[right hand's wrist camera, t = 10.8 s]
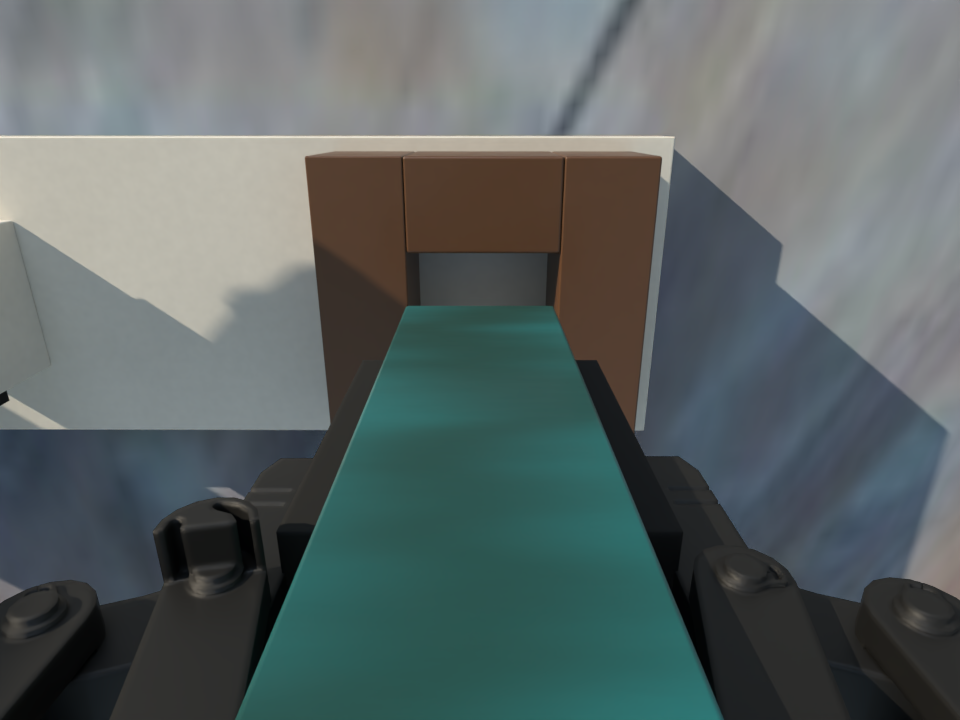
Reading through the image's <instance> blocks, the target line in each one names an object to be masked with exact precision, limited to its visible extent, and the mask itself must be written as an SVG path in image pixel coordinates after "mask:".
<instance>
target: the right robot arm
mask: <svg viewBox="0 0 960 720" xmlns="http://www.w3.org/2000/svg"><path fill="white" fill-rule="evenodd" d="M383 361H384V360H363V361H362V363H361V365H360V367H359V369H358V371H357V373H356V375H355V377H354V379H353V381H352V383H351V385H350V387H349V389H348V391H347V392H346V394H345V396H344V398H343V400H342V402H341V404H340V406H339V408H338V410H337V412H336V414H335V416H334V418H333V420H332V422H331V424H330V426H329V428H328V430H327V432H326V434H325V436H324V438H323V440H322V442H321V444H320V446H319V448H318V450H317V452H316V454H315V456H314V458H281V459H280V460H278V461H277V462H275V463H274V464H273V465H271V466H270V467H268V468H267V469H266V470H264V471H263V472H261V474H260V475H259V477H258V479H257V480H256V482H255V483H254V485H253V486H252V488H251V492H249V493H248V494H247V496H246V497H245V499H244V500H241V499H238V498H213V499H208V500H203V501H198V502H195V503H192V504H190V505H187V506H185V507H182V508H180V509H177V510H176V511H174V512H173V513H171V514H170V515H168V516H167V517H165V518H164V519H162V521H161V522H160V523H159V524H158V525H157V527H156V528H155V529H154V530H153V536H154V540H155V544H156V549H157V553H158V558H159V562H160V567H161V571H162V575H163V580H164V585H163V587H162V590H161V591H159V592H155V593H152V594H148V595H145V596H141V597H137V598H132V599H127V600H123V601H118V602H114V603H109V604H105V605H99V601H98V598H97V594H96V591H95V590H94V589H93V588H92V587H91V586H89V585H88V584H87V583H84V582H78V581H73V580H67V581H57V582H49V583H46V584H42V585H39V586H35V587H32V588H29V589H27V590H25V591H22V592H20V593H18V594H16V595H14V596H12V597H10V598H8V599H6V600H4V601H3V602H2V603H0V720H235V719H236V716H237V714H238V712H239V709H240V707H241V704H242V702H243V699H244V697H245V695H246V692H247V690H248V687H249V685H250V683H251V680H252V678H253V675H254V673H255V670H256V668H257V666H258V663H259V661H260V658H261V656H262V654H263V651H264V649H265V646H266V644H267V642H268V639H269V637H270V634H271V632H272V629H273V627H274V625H275V622H276V620H277V617H278V615H279V613H280V610H281V608H282V605H283V603H284V600H285V598H286V596H287V593H288V591H289V588H290V586H291V584H292V581H293V579H294V576H295V574H296V571H297V569H298V567H299V564H300V562H301V559H302V557H303V555H304V552H305V550H306V547H307V545H308V542H309V540H310V538H311V535H312V533H313V530H314V528H315V526H316V523H317V521H318V518H319V516H320V514H321V511H322V509H323V506H324V504H325V501H326V499H327V497H328V494H329V492H330V489H331V487H332V485H333V482H334V480H335V477H336V475H337V472H338V470H339V468H340V465H341V463H342V460H343V458H344V456H345V453H346V451H347V448H348V446H349V443H350V441H351V439H352V436H353V434H354V431H355V429H356V427H357V424H358V422H359V419H360V417H361V414H362V412H363V410H364V407H365V405H366V402H367V400H368V398H369V395H370V393H371V390H372V388H373V386H374V383H375V381H376V378H377V376H378V373H379V371H380V369H381V366H382V364H383ZM576 362H577V365H578V367H579V370H580V372H581V375H582V377H583V379H584V382H585V384H586V387H587V389H588V391H589V394H590V396H591V399H592V401H593V404H594V406H595V408H596V411H597V413H598V416H599V418H600V420H601V423H602V425H603V428H604V430H605V433H606V435H607V437H608V440H609V442H610V445H611V447H612V450H613V452H614V454H615V457H616V459H617V462H618V464H619V466H620V469H621V471H622V474H623V476H624V479H625V481H626V483H627V486H628V488H629V491H630V493H631V495H632V498H633V500H634V503H635V505H636V508H637V510H638V512H639V515H640V517H641V520H642V522H643V525H644V527H645V529H646V532H647V534H648V537H649V539H650V541H651V544H652V546H653V549H654V551H655V554H656V556H657V558H658V561H659V563H660V566H661V568H662V570H663V573H664V575H665V578H666V580H667V583H668V585H669V587H670V590H671V592H672V595H673V597H674V600H675V602H676V604H677V607H678V609H679V612H680V614H681V616H682V619H683V621H684V624H685V626H686V629H687V631H688V633H689V636H690V638H691V641H692V643H693V645H694V648H695V650H696V653H697V655H698V658H699V660H700V662H701V665H702V667H703V670H704V672H705V674H706V677H707V679H708V682H709V684H710V687H711V689H712V691H713V694H714V696H715V699H716V701H717V704H718V706H719V708H720V711H721V713H722V716H723V718H724V720H960V600H958V599H957V598H956V597H954V596H952V595H950V594H947V593H945V592H943V591H941V590H939V589H937V588H935V587H933V586H930V585H927V584H925V583H920V582H917V581H913V580H910V579H900V578H890V577H889V578H884V579H878V580H873V581H872V582H871V583H870V584H869V585H868V586H867V587H865V588H864V592H863V596H862V599H861V603H858V602H853V601H849V600H844V599H840V598H835V597H830V596H826V595H821V594H817V593H813V592H810V591H806V590H803V589H800V588H798V586H797V584H796V582H795V580H794V579H793V577H792V576H791V574H790V573H789V571H788V570H787V569H786V568H785V567H783V566H782V565H781V564H779V563H778V562H777V561H776V560H774V559H773V558H771V557H769V556H767V555H765V554H762V553H760V552H758V551H756V550H753V549H749V548H748V547H747V546H746V544H745V543H744V541H743V539H742V538H741V536H740V535H739V533H738V532H737V530H736V528H735V527H734V525H733V524H732V522H731V521H730V519H729V517H728V516H727V514H726V513H725V511H724V510H723V508H722V507H721V505H720V504H718V500H717V499H716V497H715V496H714V494H713V492H712V491H711V490H709V486H708V485H707V483H706V481H705V480H704V478H703V477H702V475H701V474H700V472H699V471H698V470H697V469H696V468H694V467H693V466H691V465H690V464H689V463H687V462H686V461H684V460H683V459H682V458H680V457H679V456H645V455H644V453H643V451H642V449H641V447H640V445H639V443H638V441H637V439H636V437H635V435H634V433H633V431H632V429H631V427H630V425H629V423H628V421H627V419H626V417H625V415H624V413H623V411H622V409H621V407H620V405H619V403H618V401H617V399H616V397H615V395H614V393H613V391H612V389H611V387H610V385H609V383H608V381H607V379H606V377H605V375H604V373H603V371H602V369H601V368H600V366H599V364H598V362H597V360H576Z"/></svg>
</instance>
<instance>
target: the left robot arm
mask: <svg viewBox="0 0 960 720" xmlns="http://www.w3.org/2000/svg"><path fill="white" fill-rule="evenodd" d="M8 401H10V400H9V397H8V393H7V390H6V391H5V392H3V393H1V394H0V406H1V405H3V404H5V403H6V402H8Z"/></svg>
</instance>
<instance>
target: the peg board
mask: <svg viewBox="0 0 960 720" xmlns="http://www.w3.org/2000/svg"><path fill="white" fill-rule="evenodd" d="M674 144H675V137H669V136H0V394H1V393H3V392H5V391H6V390H7V393H8V397H9V400H10V401H8V402H6V403H5V404H3V405H1V406H0V429H54V430H328V428H329V426H330V424H331V422H332V420H333V418H334V416H335V414H336V412H337V410H338V408H339V406H340V404H341V402H342V400H343V398H344V396H345V394H346V392H347V391H348V389H349V387H350V385H351V383H352V381H353V379H354V377H355V375H356V373H357V371H358V369H359V367H360V365H361V363H362V361H363V360H384V359H385V357H386V354H387V352H388V349H389V347H390V344H391V342H392V340H393V337H394V335H395V332H396V330H397V328H398V325H399V323H400V320H401V318H402V315H403V313H404V311H405V308H406V307H407V306H553V307H554V309H555V312H556V314H557V316H558V319H559V321H560V324H561V326H562V329H563V331H564V333H565V336H566V338H567V341H568V343H569V346H570V348H571V350H572V353H573V355H574V358H575V360H597V362H598V364H599V366H600V368H601V369H602V371H603V373H604V375H605V377H606V379H607V381H608V383H609V385H610V387H611V389H612V391H613V393H614V395H615V397H616V399H617V401H618V403H619V405H620V407H621V409H622V411H623V413H624V415H625V417H626V419H627V421H628V423H629V425H630V427H631V429H632V431H633V433H635V431H644V425H645V415H646V406H647V397H648V387H649V378H650V369H651V359H652V350H653V341H654V331H655V322H656V312H657V303H658V294H659V284H660V275H661V266H662V256H663V247H664V238H665V228H666V219H667V210H668V200H669V191H670V182H671V172H672V163H673V153H674Z"/></svg>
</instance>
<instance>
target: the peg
mask: <svg viewBox="0 0 960 720" xmlns="http://www.w3.org/2000/svg"><path fill="white" fill-rule="evenodd" d="M235 720H724V718H723V716H722V713H721V711H720V708H719V706H718V704H717V701H716V699H715V696H714V694H713V691H712V689H711V687H710V684H709V682H708V679H707V677H706V674H705V672H704V670H703V667H702V665H701V662H700V660H699V658H698V655H697V653H696V650H695V648H694V645H693V643H692V641H691V638H690V636H689V633H688V631H687V629H686V626H685V624H684V621H683V619H682V616H681V614H680V612H679V609H678V607H677V604H676V602H675V600H674V597H673V595H672V592H671V590H670V587H669V585H668V583H667V580H666V578H665V575H664V573H663V570H662V568H661V566H660V563H659V561H658V558H657V556H656V554H655V551H654V549H653V546H652V544H651V541H650V539H649V537H648V534H647V532H646V529H645V527H644V525H643V522H642V520H641V517H640V515H639V512H638V510H637V508H636V505H635V503H634V500H633V498H632V495H631V493H630V491H629V488H628V486H627V483H626V481H625V479H624V476H623V474H622V471H621V469H620V466H619V464H618V462H617V459H616V457H615V454H614V452H613V450H612V447H611V445H610V442H609V440H608V437H607V435H606V433H605V430H604V428H603V425H602V423H601V420H600V418H599V416H598V413H597V411H596V408H595V406H594V404H593V401H592V399H591V396H590V394H589V391H588V389H587V387H586V384H585V382H584V379H583V377H582V375H581V372H580V370H579V367H578V365H577V362H576V360H575V358H574V355H573V353H572V350H571V348H570V346H569V343H568V341H567V338H566V336H565V333H564V331H563V329H562V326H561V324H560V321H559V319H558V316H557V314H556V312H555V309H554V307H553V306H407V307H406V308H405V311H404V313H403V315H402V318H401V320H400V323H399V325H398V328H397V330H396V332H395V335H394V337H393V340H392V342H391V344H390V347H389V349H388V352H387V354H386V357H385V359H384V361H383V364H382V366H381V369H380V371H379V373H378V376H377V378H376V381H375V383H374V386H373V388H372V390H371V393H370V395H369V398H368V400H367V402H366V405H365V407H364V410H363V412H362V414H361V417H360V419H359V422H358V424H357V427H356V429H355V431H354V434H353V436H352V439H351V441H350V443H349V446H348V448H347V451H346V453H345V456H344V458H343V460H342V463H341V465H340V468H339V470H338V472H337V475H336V477H335V480H334V482H333V485H332V487H331V489H330V492H329V494H328V497H327V499H326V501H325V504H324V506H323V509H322V511H321V514H320V516H319V518H318V521H317V523H316V526H315V528H314V530H313V533H312V535H311V538H310V540H309V542H308V545H307V547H306V550H305V552H304V555H303V557H302V559H301V562H300V564H299V567H298V569H297V571H296V574H295V576H294V579H293V581H292V584H291V586H290V588H289V591H288V593H287V596H286V598H285V600H284V603H283V605H282V608H281V610H280V613H279V615H278V617H277V620H276V622H275V625H274V627H273V629H272V632H271V634H270V637H269V639H268V642H267V644H266V646H265V649H264V651H263V654H262V656H261V658H260V661H259V663H258V666H257V668H256V670H255V673H254V675H253V678H252V680H251V683H250V685H249V687H248V690H247V692H246V695H245V697H244V699H243V702H242V704H241V707H240V709H239V712H238V714H237V716H236V719H235Z"/></svg>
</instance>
